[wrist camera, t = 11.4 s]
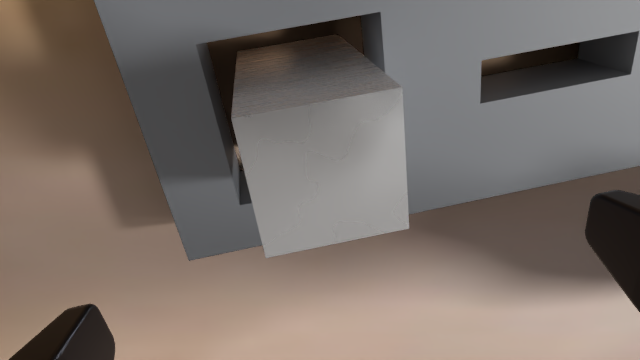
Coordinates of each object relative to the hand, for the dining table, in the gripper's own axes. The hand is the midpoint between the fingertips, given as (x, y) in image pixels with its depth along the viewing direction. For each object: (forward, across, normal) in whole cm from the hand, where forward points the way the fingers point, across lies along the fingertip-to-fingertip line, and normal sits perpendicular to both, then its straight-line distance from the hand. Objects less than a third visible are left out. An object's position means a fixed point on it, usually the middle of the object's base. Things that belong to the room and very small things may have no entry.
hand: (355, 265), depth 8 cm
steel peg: (+12, 0, 0) cm, 12 cm away
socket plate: (+11, -5, 0) cm, 12 cm away
